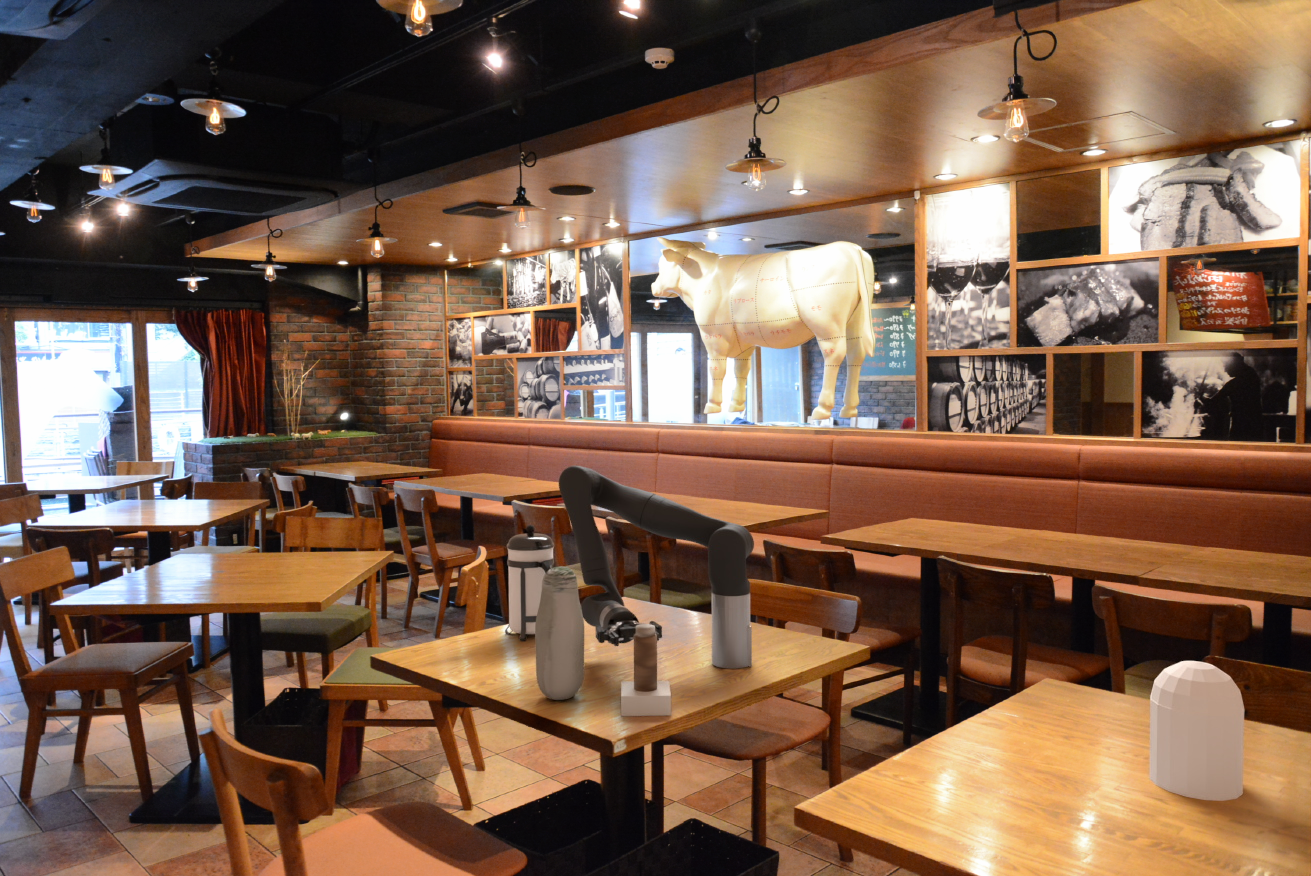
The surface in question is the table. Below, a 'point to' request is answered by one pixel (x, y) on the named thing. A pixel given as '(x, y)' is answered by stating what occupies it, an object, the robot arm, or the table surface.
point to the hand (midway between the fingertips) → (636, 639)
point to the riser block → (645, 700)
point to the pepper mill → (645, 658)
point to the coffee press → (527, 578)
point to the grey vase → (559, 635)
